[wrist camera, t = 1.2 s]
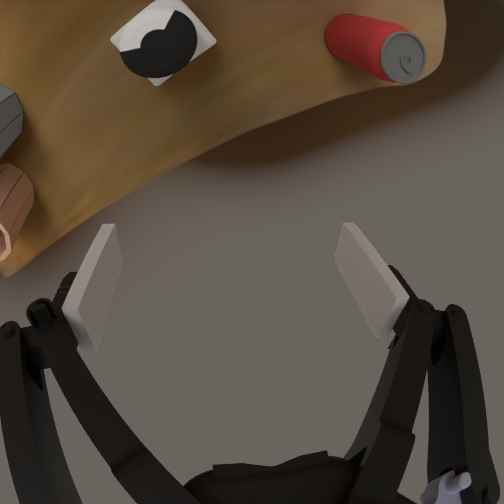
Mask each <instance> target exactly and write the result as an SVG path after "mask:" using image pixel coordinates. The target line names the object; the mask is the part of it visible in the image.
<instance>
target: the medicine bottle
mask: <svg viewBox="0 0 504 504" xmlns="http://www.w3.org/2000/svg"><path fill="white" fill-rule="evenodd" d="M110 41H111V42H112V43H113V44H114V45H115V46H116V47H117V48H118V49H119V50H120V55H121V58H122V60H123V62H124V64H125V65H126V66H127V67H128V69H130V70H131V71H132V72H134V73H135V74H137V75H139V76H142V77H146V78H148V79H149V80H150V81H151V82H152V83H153V84H154V85H155V86H159V85H161V84H162V83H163V82H164V81H165V80H167V79H168V78H169V77H170V76H172V75H173V74H174V73H176V72H178V71H180V70H181V69H182V68H184V67H185V66H186V65H187V64H188V63H189V62H190V61H192V60H193V59H194V58H196V57H197V56H198V55H200V54H201V53H203V52H204V51H206V50H207V49H209V48H210V47H211V46H213V45H214V44H215V43H216V39H215V38H214V36H213V35H212V34H211V33H210V32H209V30H208V29H207V28H206V27H205V26H204V25H203V23H202V22H201V21H200V20H199V19H198V18H197V17H196V15H195V14H194V13H193V12H192V11H191V10H190V9H189V8H188V6H187V5H186V4H185V3H184V2H183V1H182V0H155V1H154V2H152V3H151V4H150V5H149V6H147V7H146V8H145V9H143V10H142V11H141V12H140V13H138V14H137V15H136V16H135V17H134V18H132V19H131V20H130V21H129V22H128V23H126V24H125V25H124V26H123V27H122V28H121V29H120V30H118V31H117V32H116V33H115V34H114V35H113V36H112V37H111V38H110Z"/></svg>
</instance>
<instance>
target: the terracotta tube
mask: <svg viewBox="0 0 504 504" xmlns="http://www.w3.org/2000/svg"><path fill="white" fill-rule="evenodd" d="M33 187H34V186H33V185H32V183H31V181H30V180H29V178H28V176H27V175H26V173H25V172H23V170H22V169H20V168H18V167H16V166H14V165H13V164H11V163H8V162H7V163H2V164H0V230H1V231H2V234H1V236H0V261H3V260H4V259H5V258H6V257H7V256H8V255H9V253H10V252H11V251H12V248H13V246H14V244H15V241H16V239H17V237H18V235H19V233H20V230H21V228H22V226H23V224H24V222H25V220H26V218H27V216H28V214H29V212H30V210H31V208H32V206H33V203H34V188H33Z"/></svg>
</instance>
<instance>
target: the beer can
mask: <svg viewBox="0 0 504 504" xmlns="http://www.w3.org/2000/svg"><path fill="white" fill-rule="evenodd" d="M325 38H326V44H327V46H328V48H329V50H330V51H331V52H332V53H333V54H334V55H335V56H336V57H338V58H340V59H342V60H344V61H346V62H348V63H350V64H352V65H354V66H356V67H358V68H360V69H362V70H364V71H366V72H368V73H370V74H372V75H374V76H376V77H378V78H379V79H381V80H385V81H389V82H397V83H401V84H405V83H410V82H413V81H415V80H416V79H417V78H418V77H419V76H420V75H421V74H422V72H423V70H424V68H425V64H426V51H425V48H424V45H423V44H422V42H421V40H420V39H419V38H418V37H417V36H415V35H414V34H412V33H411V32H409V31H408V30H407V29H406V28H404V27H402V26H400V25H398V24H395V23H391V22H387V21H383V20H378V19H374V18H369V17H364V16H358V15H352V14H343V15H340V16H338V17H335V18H334V19H333V20H332V21H331V22H330V23H329V25H328V27H327V29H326V35H325Z"/></svg>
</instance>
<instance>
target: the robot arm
mask: <svg viewBox="0 0 504 504" xmlns="http://www.w3.org/2000/svg"><path fill="white" fill-rule="evenodd" d="M334 262H335V264H336V266H337V267H338V269H339V271H340V273H341V274H342V276H343V278H344V280H345V282H346V284H347V285H348V287H349V289H350V291H351V292H352V294H353V296H354V298H355V300H356V302H357V304H358V305H359V307H360V309H361V311H362V313H363V315H364V317H365V319H366V320H367V323H368V325H369V326H370V328H371V331H372V332H373V334H374V336H375V338H376V339H379V338H385V337H388V336H389V335H390V333H391V331H392V329H393V330H394V332H395V333H396V335H395V337H394V339H393V340H392V342H391V343H390V346H389V347H388V349H390V351H389V354H388V357H387V360H386V363H385V366H384V369H383V372H382V375H381V377H380V380H379V383H378V386H377V388H376V391H375V393H374V396H373V398H372V401H371V404H370V406H369V408H368V411H367V413H366V416H365V418H364V420H363V423H362V425H361V427H360V429H359V432H358V434H357V436H356V438H355V440H354V442H353V444H352V446H351V448H350V449H349V451H348V452H347V453H346V455H345V456H344V458H340V457H335V456H328V453H327V450H326V451H321V452H317V453H312V454H307V455H301V456H298V457H296V458H294V459H291V460H289V461H286V462H284V463H282V464H279V465H277V466H271V467H270V466H260V465H252V464H245V463H236V464H222V465H221V464H219V465H213V470H210V471H206V472H204V473H201V474H199V475H197V476H195V477H194V478H192V479H191V480H189V481H188V482H187V483H186V484H185V485H184V486H182V485H181V484H180V483H179V482H178V481H177V480H176V479H175V478H174V477H173V476H172V475H171V474H170V473H169V472H168V471H167V470H166V469H165V468H164V466H163V465H162V464H161V463H160V462H159V461H158V460H157V459H156V458H155V457H154V456H153V455H152V453H151V452H150V451H149V450H148V449H147V448H146V447H145V446H144V445H143V444H142V442H141V441H140V440H139V439H138V438H137V436H136V435H135V434H134V433H133V431H132V430H131V429H130V428H129V426H128V425H127V424H126V423H125V421H124V420H123V419H122V417H121V416H120V415H119V413H118V412H117V411H116V410H115V408H114V407H113V406H112V404H111V403H110V401H109V400H108V398H107V397H106V396H105V394H104V393H103V391H102V390H101V388H100V387H99V385H98V384H97V382H96V381H95V379H94V378H93V376H92V375H91V373H90V371H89V370H88V368H87V367H86V365H85V363H84V362H83V360H82V358H81V357H80V355H79V353H78V352H77V346H78V344H79V346H80V348H81V350H82V351H83V352H94V353H97V351H98V346H99V343H100V338H101V335H102V331H103V327H104V323H105V320H106V316H107V313H108V309H109V306H110V302H111V299H112V296H113V292H114V289H115V286H116V283H117V280H118V276H119V273H120V270H121V268H122V264H123V263H122V258H121V253H120V248H119V243H118V237H117V231H116V226H115V224H103V225H102V226H101V228H100V230H99V232H98V234H97V236H96V238H95V239H94V241H93V243H92V245H91V247H90V249H89V251H88V253H87V255H86V257H85V259H84V261H83V263H82V265H81V267H80V269H79V271H78V272H70V273H69V274H67V275H66V277H64V279H63V280H62V282H61V284H60V287H59V289H58V290H57V293H56V295H55V297H54V299H53V301H52V302H51V301H50V300H49V299H47V298H40V299H37V300H35V301H34V302H32V303H31V304H30V305H29V307H28V308H27V311H26V315H27V318H28V320H29V321H30V323H31V325H32V326H29V327H24V328H20V326H19V324H17V322H14V321H9V322H6V323H5V324H3V325H2V326H1V327H0V418H1V425H2V432H3V438H4V443H5V449H6V454H7V459H8V463H9V467H10V471H11V475H12V479H13V483H14V486H15V490H16V493H17V496H18V500H19V503H20V504H82V501H81V499H80V497H79V494H78V492H77V489H76V487H75V485H74V482H73V479H72V477H71V474H70V471H69V468H68V466H67V463H66V460H65V457H64V454H63V450H62V447H61V444H60V441H59V437H58V434H57V430H56V426H55V422H54V419H53V414H52V410H51V406H50V401H49V397H48V392H47V386H46V381H45V375H44V369H46V368H51V370H52V372H53V374H54V376H55V378H56V380H57V382H58V384H59V386H60V388H61V390H62V392H63V394H64V396H65V397H66V399H67V401H68V403H69V405H70V407H71V408H72V410H73V412H74V413H75V415H76V417H77V418H78V420H79V422H80V423H81V425H82V426H83V428H84V430H85V431H86V433H87V435H88V436H89V438H90V439H91V441H92V442H93V444H94V445H95V447H96V448H97V449H98V451H99V452H100V454H101V455H102V457H103V458H104V459H105V461H106V462H107V463H108V465H109V466H110V468H111V471H112V473H113V475H114V476H115V477H116V479H117V480H118V481H119V483H120V484H121V485H122V486H123V488H124V489H125V490H126V491H127V492H128V494H129V495H130V496H131V497H132V498H133V499H134V501H135V502H136V503H137V504H417V503H415V502H413V501H411V500H410V499H408V498H407V497H405V496H403V495H402V494H400V493H398V492H397V490H398V487H399V485H400V482H401V480H402V477H403V475H404V472H405V469H406V466H407V463H408V460H409V458H410V455H411V452H412V449H413V445H414V442H415V434H413V433H412V428H413V425H414V421H415V418H416V414H417V410H418V407H419V403H420V399H421V395H422V390H423V385H424V381H425V377H426V372H428V392H429V442H428V461H427V478H428V485H427V487H426V488H425V491H424V492H423V493H422V495H421V498H420V500H421V502H422V503H423V504H497V502H498V500H499V496H500V487H499V483H498V479H497V475H496V471H495V468H494V464H493V461H492V458H491V455H490V451H489V442H488V429H487V418H486V408H485V400H484V393H483V387H482V381H481V375H480V370H479V365H478V360H477V355H476V351H475V346H474V342H473V338H472V334H471V330H470V326H469V322H468V319H467V315H466V313H465V311H464V310H463V309H462V308H461V307H459V306H457V305H454V304H450V305H448V307H447V308H446V310H445V311H440V310H435V309H434V307H433V306H432V305H431V304H430V303H429V302H427V301H426V300H422V299H418V298H417V296H416V295H415V293H414V292H413V291H412V289H411V288H410V286H409V285H408V284H407V283H406V281H405V279H404V278H403V277H402V276H401V274H400V273H399V271H398V270H396V269H395V268H394V267H393V266H391V265H386V263H385V262H384V261H383V259H382V258H381V256H380V255H379V254H378V253H377V251H376V250H375V249H374V247H373V246H372V245H371V244H370V242H369V241H368V240H367V238H366V237H365V236H364V234H363V233H362V232H361V231H360V229H359V228H358V227H357V226H356V224H355V223H343V226H342V230H341V233H340V237H339V241H338V245H337V249H336V252H335V256H334Z"/></svg>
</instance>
